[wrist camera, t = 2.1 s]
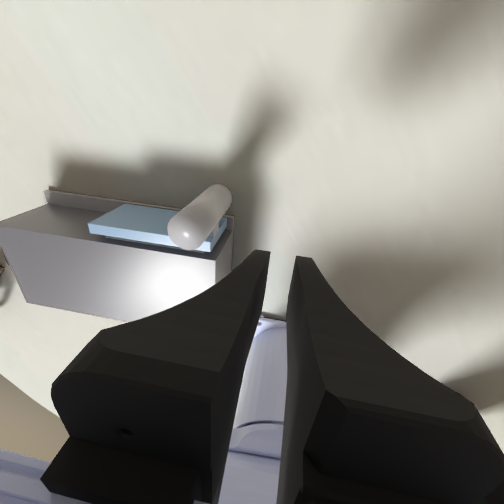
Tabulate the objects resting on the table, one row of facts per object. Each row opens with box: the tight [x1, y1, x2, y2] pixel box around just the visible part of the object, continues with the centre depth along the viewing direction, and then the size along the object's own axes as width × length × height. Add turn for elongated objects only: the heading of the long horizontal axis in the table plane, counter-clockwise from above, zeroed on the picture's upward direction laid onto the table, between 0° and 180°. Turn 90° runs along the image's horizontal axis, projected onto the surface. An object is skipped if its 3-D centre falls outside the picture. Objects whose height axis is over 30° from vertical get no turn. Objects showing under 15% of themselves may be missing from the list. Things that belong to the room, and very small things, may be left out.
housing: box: [0, 190, 234, 322], centre depth 21 cm, size 17×8×5 cm, turn 85°
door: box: [88, 184, 232, 252], centre depth 16 cm, size 9×3×6 cm, turn 85°
